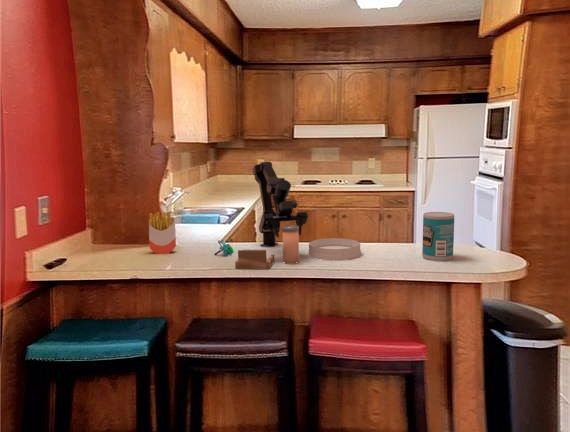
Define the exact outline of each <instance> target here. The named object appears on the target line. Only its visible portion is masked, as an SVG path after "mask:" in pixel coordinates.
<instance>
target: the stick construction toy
mask: <svg viewBox="0 0 570 432" xmlns="http://www.w3.org/2000/svg"><path fill="white" fill-rule="evenodd" d="M217 243H218V244H219V247H218V249H219V250H217V251H216V252H215V253H214V256H217V255H218V254H220V253H224V256H225V257H228V256H232V255H233V253H234V248H233V247H232V246H231V244H229V243H227V244H226V242H225V240H224V239H222V240H221V241H220V239H219V240H217Z"/></svg>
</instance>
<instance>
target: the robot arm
mask: <svg viewBox="0 0 570 432" xmlns="http://www.w3.org/2000/svg"><path fill="white" fill-rule="evenodd" d="M252 175H253V176H254V181H256V182H257V183H258V185H259V192H260V199H261V205H262V211H263V213H262V215H261V218H260V222H259V225H258V232H259V233H260V234H262V241H263V242H262V243H261V244H260V246H261V247H276V246H277V245H278V244H279V242H276V237H277V238H279V237H280V235H279V233H280V229H281V223H282V222H283V223H284V222H295V225H298V226H299V230H298V235H299V236H301V235H302V227H303V226H304V225H305V224H306V223H307V221H308V218H309V214H308V212H307V211H297V213H296V215H292V214H293V210H294V209H297V207H298V202H297V199H291V200H287V198H288V197H289V194H290V190H291V188H292V187H291V186H292V184H291V183H290V181H288V180H286V179H285V177H278V176H277V173H276V171H275V170H274V167H273V163H272V162H270V161H262V162H260V163H258V164H255V165H253V167H252ZM273 206H274V207H273Z"/></svg>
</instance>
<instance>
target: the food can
mask: <svg viewBox="0 0 570 432" xmlns="http://www.w3.org/2000/svg"><path fill="white" fill-rule="evenodd" d="M422 216H423V218H422V252H421V254H422V255H421V256H422V258H423V259H424V260H427V261H431V262H447V261H451V260H453V258H454V241H455V240H454V239H455V238H454V237H455V214H454V213H451V212H446V211H445V212H444V211H429V212H427V211H426V212H424V213H423V215H422Z"/></svg>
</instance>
